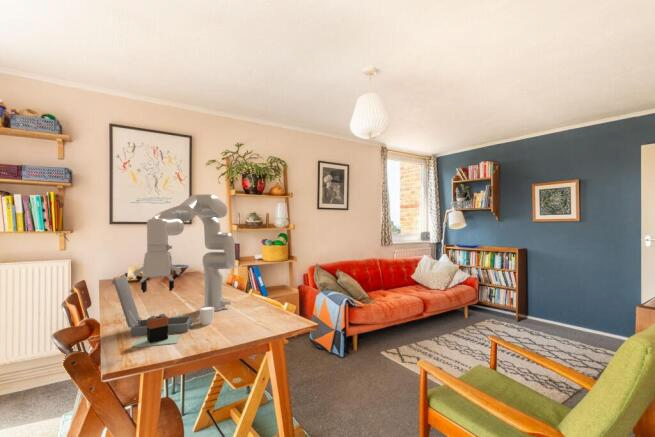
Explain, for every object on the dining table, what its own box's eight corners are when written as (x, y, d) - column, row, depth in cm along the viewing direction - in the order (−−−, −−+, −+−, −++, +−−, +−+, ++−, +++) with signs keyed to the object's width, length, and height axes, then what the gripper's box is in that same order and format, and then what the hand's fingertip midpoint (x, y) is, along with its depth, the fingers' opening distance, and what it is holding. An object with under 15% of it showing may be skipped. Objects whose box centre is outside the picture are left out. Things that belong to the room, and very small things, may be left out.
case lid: (125, 275, 145) (123, 275, 145) (115, 279, 133) (113, 280, 133) (139, 318, 146) (137, 319, 146) (131, 327, 134) (128, 327, 134)
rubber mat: (180, 335, 136) (180, 334, 136) (176, 343, 126) (176, 342, 126) (138, 338, 132) (138, 337, 132) (130, 347, 122) (130, 346, 122)
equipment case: (191, 323, 152) (191, 300, 152) (187, 331, 140) (187, 306, 140) (136, 327, 146) (136, 303, 146) (127, 336, 134) (128, 310, 134)
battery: (168, 339, 130) (168, 314, 130) (149, 343, 125) (150, 318, 125) (164, 336, 133) (165, 312, 133) (146, 340, 128) (146, 315, 128)
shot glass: (217, 321, 155) (217, 306, 155) (208, 325, 148) (208, 310, 148) (205, 320, 157) (205, 305, 157) (196, 324, 151) (196, 309, 151)
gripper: (182, 247, 135) (182, 287, 135) (136, 248, 131) (136, 290, 131) (179, 249, 128) (179, 291, 128) (130, 250, 124) (130, 294, 124)
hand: (157, 291), depth 129 cm, fingers open, 9 cm apart
